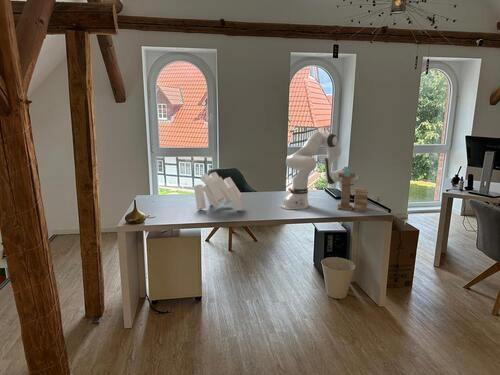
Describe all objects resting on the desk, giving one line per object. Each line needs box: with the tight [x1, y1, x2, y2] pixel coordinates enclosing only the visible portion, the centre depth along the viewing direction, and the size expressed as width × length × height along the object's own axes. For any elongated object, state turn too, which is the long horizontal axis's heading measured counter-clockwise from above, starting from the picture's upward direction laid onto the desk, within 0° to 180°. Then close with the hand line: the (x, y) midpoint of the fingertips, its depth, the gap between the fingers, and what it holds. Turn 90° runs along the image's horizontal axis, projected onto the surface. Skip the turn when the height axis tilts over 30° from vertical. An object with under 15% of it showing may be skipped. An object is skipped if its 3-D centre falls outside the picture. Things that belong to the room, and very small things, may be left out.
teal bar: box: [343, 166, 351, 177], centre depth 259 cm, size 22×4×4 cm, turn 166°
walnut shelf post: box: [337, 172, 356, 211], centre depth 260 cm, size 10×12×26 cm
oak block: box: [353, 187, 369, 213], centre depth 259 cm, size 12×8×15 cm, turn 166°
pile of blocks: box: [193, 171, 244, 212], centre depth 263 cm, size 35×30×35 cm
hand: (345, 175), depth 278 cm, fingers open, 8 cm apart
